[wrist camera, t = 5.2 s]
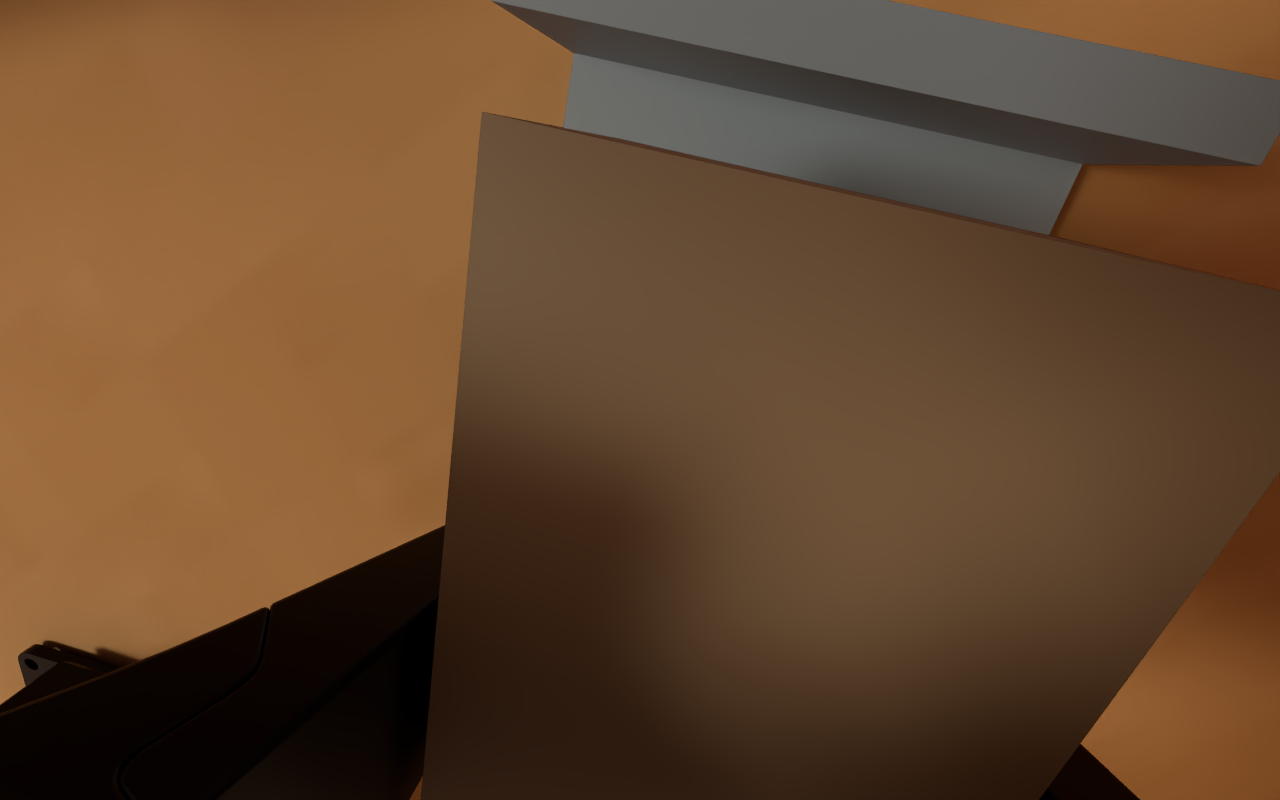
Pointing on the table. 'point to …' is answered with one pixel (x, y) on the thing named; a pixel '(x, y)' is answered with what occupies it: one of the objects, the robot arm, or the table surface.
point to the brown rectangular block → (813, 483)
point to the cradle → (896, 98)
